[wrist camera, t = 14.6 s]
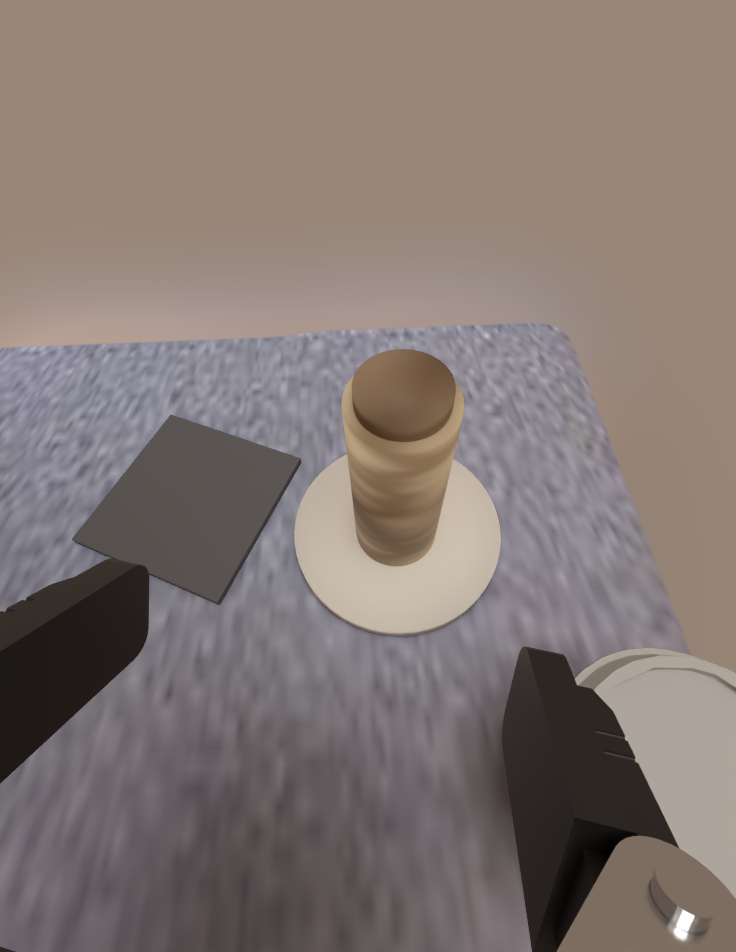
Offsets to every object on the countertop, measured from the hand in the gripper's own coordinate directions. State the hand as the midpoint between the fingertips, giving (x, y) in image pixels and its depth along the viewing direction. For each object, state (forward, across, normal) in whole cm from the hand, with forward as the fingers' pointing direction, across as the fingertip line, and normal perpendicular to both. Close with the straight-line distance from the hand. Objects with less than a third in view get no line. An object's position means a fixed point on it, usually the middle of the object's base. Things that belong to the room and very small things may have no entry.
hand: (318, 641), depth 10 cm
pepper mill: (+21, 0, +5) cm, 22 cm away
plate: (+22, 0, +6) cm, 23 cm away
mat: (+22, +15, +6) cm, 27 cm away
